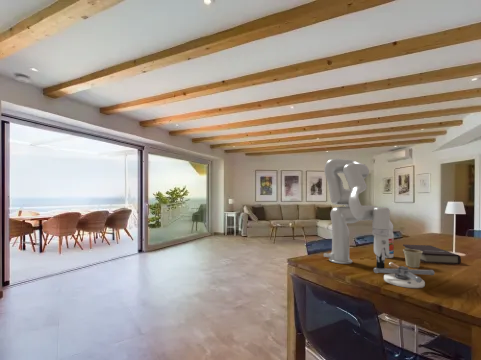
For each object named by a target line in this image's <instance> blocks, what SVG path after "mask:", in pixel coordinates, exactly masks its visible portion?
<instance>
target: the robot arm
mask: <svg viewBox="0 0 481 360" xmlns="http://www.w3.org/2000/svg"><path fill="white" fill-rule="evenodd" d="M323 170H324V176H325V179H326V182H327V186H328V187H327V188H328V191H329V192H328V193H329V198H330V202H331V204H333V205H338V206H336V207H333V208H332V209H331V210H330V213H329V214H330V221H331V251H330V252H329V253H325V252H324V253H323V257H324V258H325V257H326V258H328V260H329V261H330V262H331V263H336V264H343V265H348V264H352V263H353V260H352V259H351V258H350V229H349V227H348V224H354V223H358V222H359V221H372V222H371V223H372V226H371V228H372V229H371V230H372V231H371V232H372V233H371V234H372V236H373V253H374V254H375V255H376V256H375V257H376V262H375V263H376V267H375V268H385V263H386V262H385V261H386V258H385V256H386V257H389V240H388V236H389V226H390V221H391V218H390V217H391V215H390V214H391V211H390V208H389V207H384V206H382V207H381V206H377V205H362V203H361V202H360V201H361V200H360V199H359V196H360V194H361V193H363V192H364V191H366V190H367V189H368V185H367V183H366V180H365V179H366V178H368V176H369V175H370V169H369V167H368V166H367V165H366V164H365V163H362V162H359V161H355V160H353V159H346V158H345V159H344V158H343V159H342V158H332V159H329V160H327V161H326V163H325V165H324V169H323ZM339 174H343V175H344V177H345V179H346V182H347V185H348V187H349V188H345V187H344V185H343V184H344V183H343V180H342V178H341V176H339ZM344 205H345V206H344Z"/></svg>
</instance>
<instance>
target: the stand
mask: <svg viewBox="0 0 481 360" xmlns="http://www.w3.org/2000/svg"><path fill="white" fill-rule="evenodd" d="M383 281H384V282H385V283H388V284H390V285H393V286H395V287H396V286H397V287H402V288H408V289H423V288H424V287H425V285H426V282H425V280H423V279H422V281H421V282H420V283H418V282H416V281H415V280H413V279H409V280H405V279H399V278H396V277H395V273H384V275H383Z"/></svg>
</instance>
